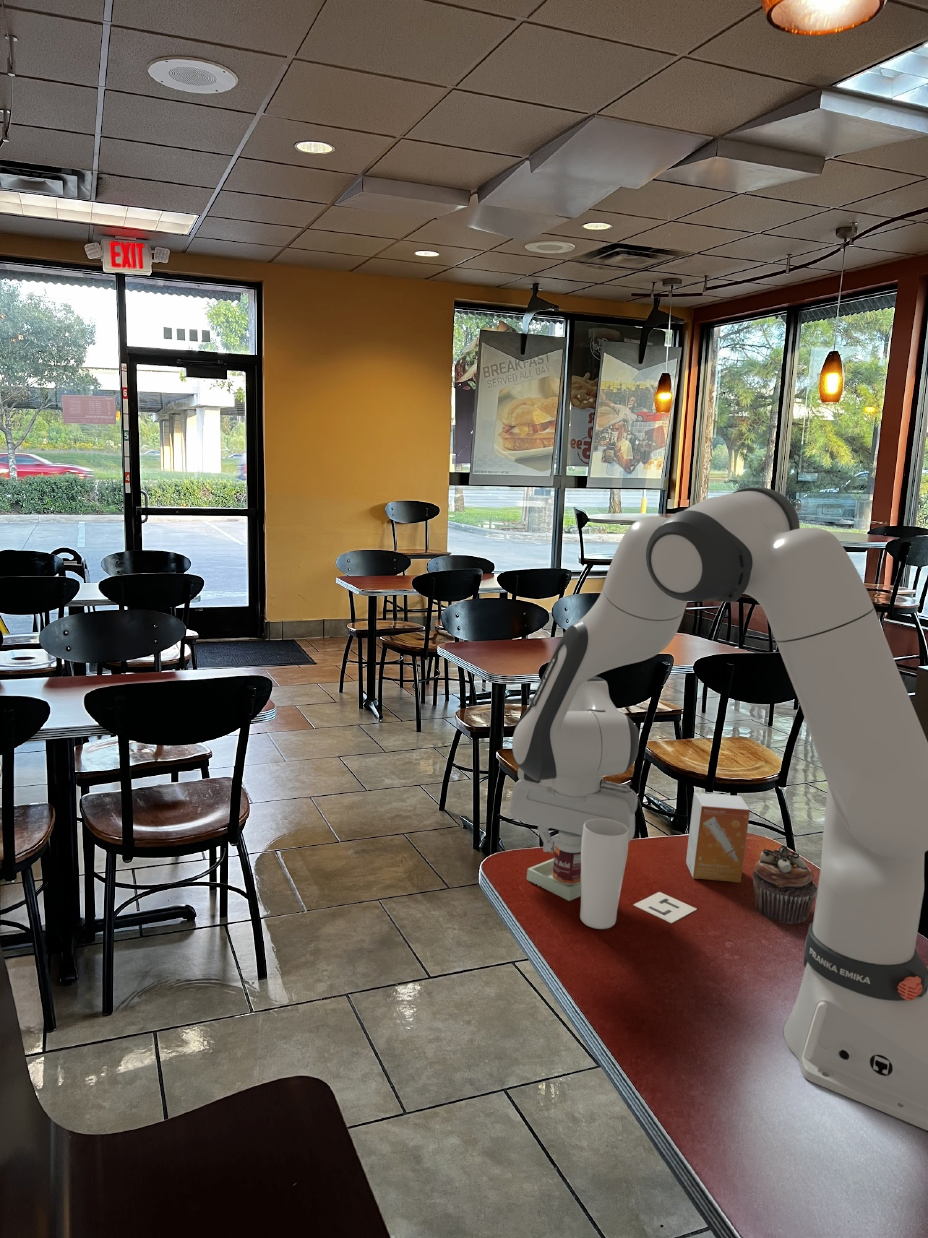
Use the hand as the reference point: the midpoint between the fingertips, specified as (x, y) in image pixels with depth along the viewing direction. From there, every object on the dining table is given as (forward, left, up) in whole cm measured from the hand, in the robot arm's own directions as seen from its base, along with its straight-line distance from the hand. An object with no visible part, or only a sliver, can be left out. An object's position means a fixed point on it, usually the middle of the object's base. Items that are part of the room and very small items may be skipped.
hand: (568, 856), depth 148 cm
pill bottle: (0, 0, -4) cm, 4 cm away
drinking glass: (-11, +6, -5) cm, 14 cm away
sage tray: (0, 0, -4) cm, 5 cm away
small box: (-13, -23, -5) cm, 27 cm away
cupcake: (-27, -20, -5) cm, 34 cm away
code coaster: (-15, -6, -4) cm, 17 cm away
